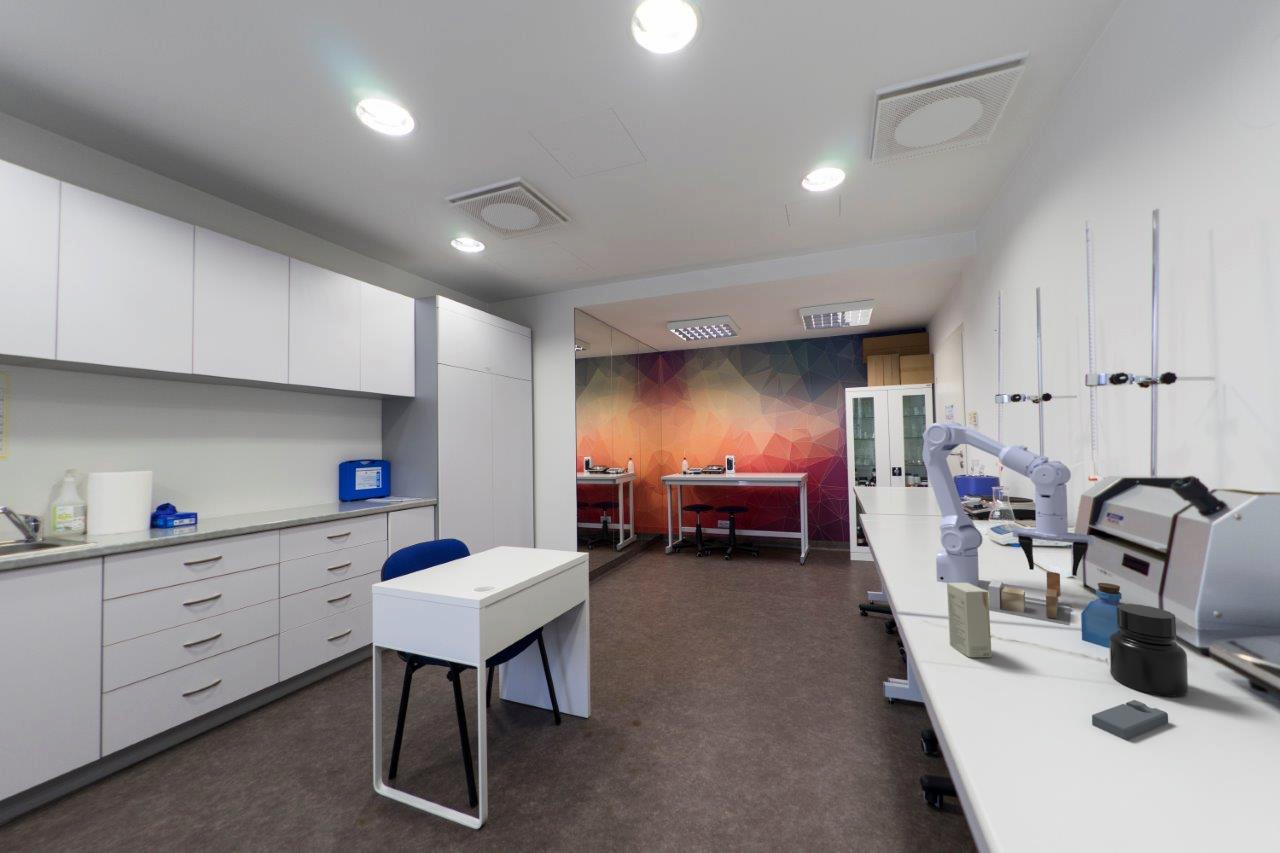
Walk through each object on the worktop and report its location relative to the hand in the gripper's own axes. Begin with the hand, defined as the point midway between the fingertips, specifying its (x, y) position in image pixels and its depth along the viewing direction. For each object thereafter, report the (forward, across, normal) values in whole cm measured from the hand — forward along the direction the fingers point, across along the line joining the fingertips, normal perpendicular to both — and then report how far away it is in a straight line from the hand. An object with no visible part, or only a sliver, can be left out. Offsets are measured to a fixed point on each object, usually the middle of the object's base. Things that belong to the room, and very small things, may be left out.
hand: (1052, 571), depth 115 cm
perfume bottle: (+9, +9, -20) cm, 24 cm away
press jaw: (+7, 0, -5) cm, 9 cm away
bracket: (+9, +10, -51) cm, 53 cm away
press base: (+8, -4, -6) cm, 11 cm away
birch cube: (+8, -7, -9) cm, 13 cm away
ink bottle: (+9, +13, -34) cm, 37 cm away
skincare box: (+9, -11, -38) cm, 40 cm away
